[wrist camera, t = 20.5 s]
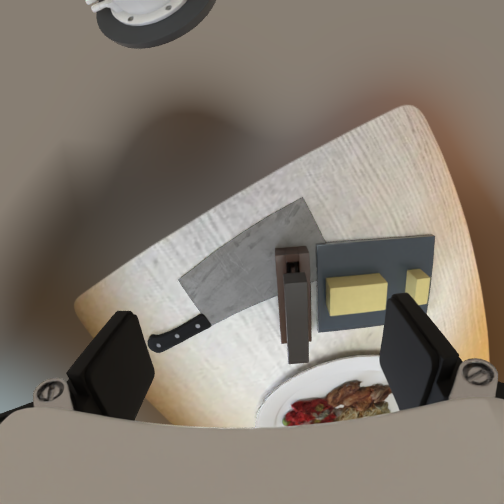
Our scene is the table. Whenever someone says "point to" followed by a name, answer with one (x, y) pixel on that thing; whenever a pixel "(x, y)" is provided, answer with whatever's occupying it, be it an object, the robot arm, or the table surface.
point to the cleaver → (243, 271)
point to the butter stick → (356, 294)
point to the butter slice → (418, 285)
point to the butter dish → (370, 272)
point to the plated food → (330, 394)
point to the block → (281, 257)
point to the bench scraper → (296, 316)
